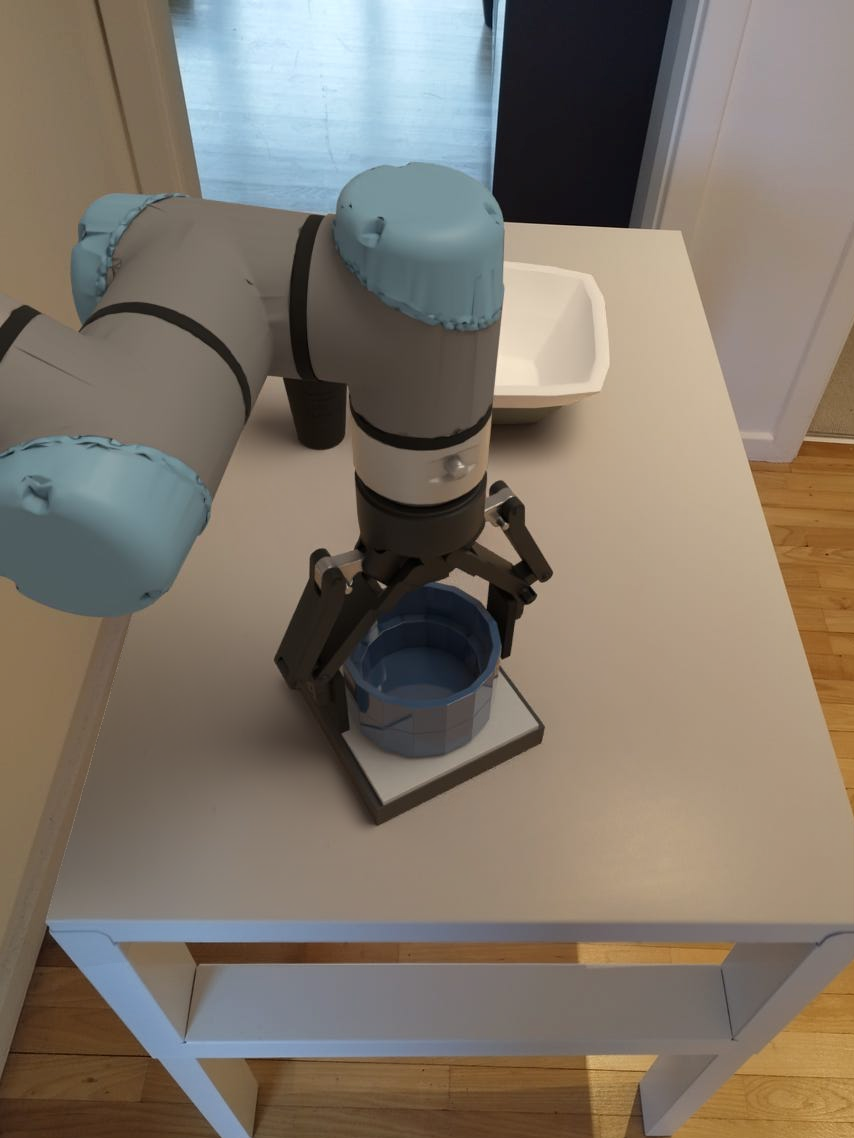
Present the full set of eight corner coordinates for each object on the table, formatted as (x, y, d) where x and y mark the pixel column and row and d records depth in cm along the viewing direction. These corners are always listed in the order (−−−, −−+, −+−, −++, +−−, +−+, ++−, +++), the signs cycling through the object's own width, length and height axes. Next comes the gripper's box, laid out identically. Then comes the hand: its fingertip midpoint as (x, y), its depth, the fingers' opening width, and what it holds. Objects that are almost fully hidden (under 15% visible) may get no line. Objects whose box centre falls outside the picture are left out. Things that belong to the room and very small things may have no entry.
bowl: (590, 334, 104) (602, 265, 98) (600, 470, 91) (614, 401, 84) (398, 321, 104) (396, 252, 97) (378, 456, 90) (375, 386, 83)
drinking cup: (340, 467, 89) (324, 279, 73) (269, 447, 90) (238, 258, 74) (371, 420, 93) (362, 233, 77) (303, 402, 94) (280, 214, 78)
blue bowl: (322, 672, 70) (314, 616, 65) (447, 618, 74) (450, 560, 69) (389, 784, 65) (386, 733, 59) (521, 720, 69) (530, 666, 63)
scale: (292, 677, 74) (288, 655, 71) (447, 611, 79) (448, 589, 76) (377, 826, 66) (376, 807, 64) (542, 742, 71) (546, 722, 69)
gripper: (235, 591, 45) (285, 793, 62) (637, 438, 54) (584, 651, 70) (182, 496, 49) (242, 711, 65) (566, 367, 57) (531, 586, 74)
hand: (419, 680), depth 68 cm, fingers open, 13 cm apart
